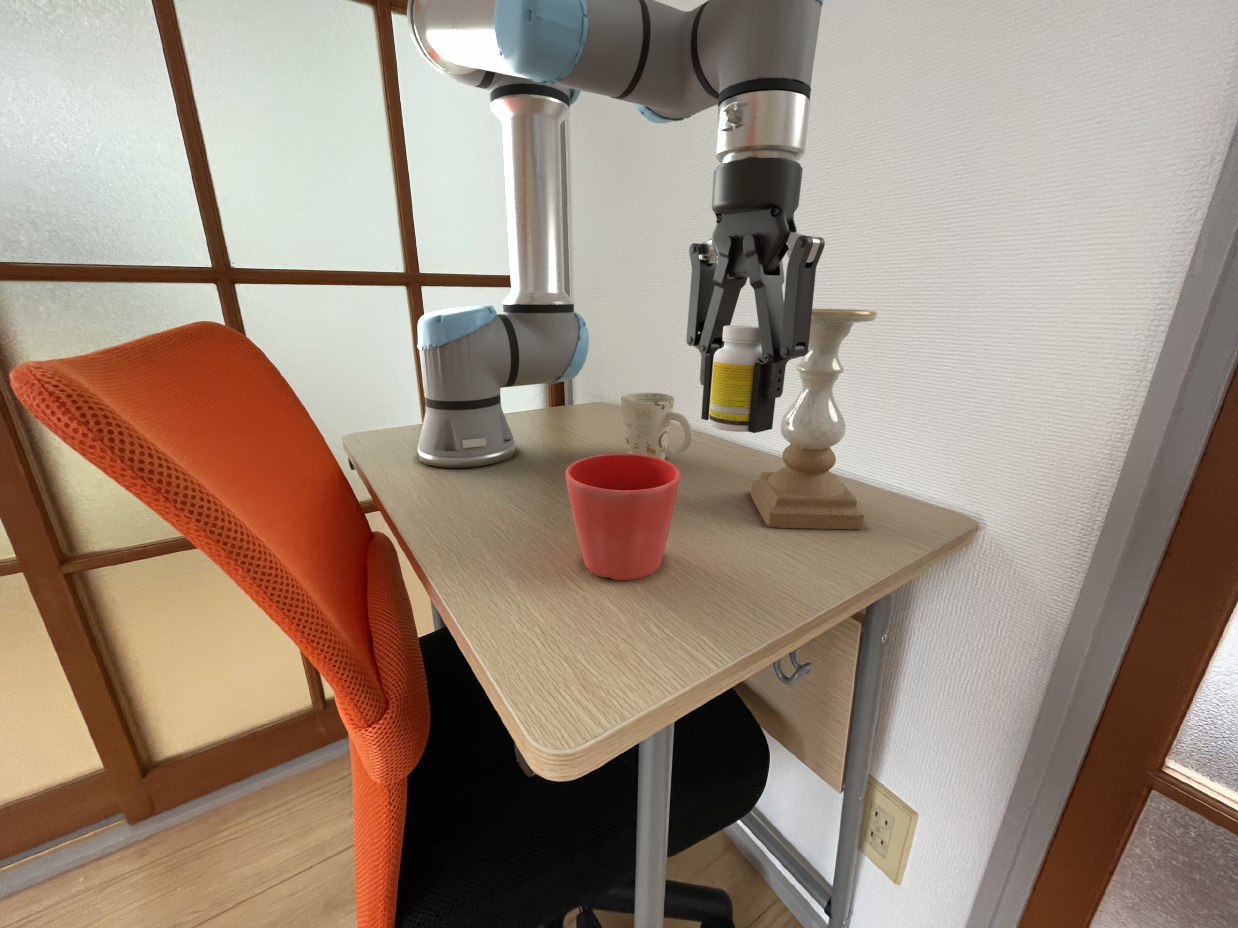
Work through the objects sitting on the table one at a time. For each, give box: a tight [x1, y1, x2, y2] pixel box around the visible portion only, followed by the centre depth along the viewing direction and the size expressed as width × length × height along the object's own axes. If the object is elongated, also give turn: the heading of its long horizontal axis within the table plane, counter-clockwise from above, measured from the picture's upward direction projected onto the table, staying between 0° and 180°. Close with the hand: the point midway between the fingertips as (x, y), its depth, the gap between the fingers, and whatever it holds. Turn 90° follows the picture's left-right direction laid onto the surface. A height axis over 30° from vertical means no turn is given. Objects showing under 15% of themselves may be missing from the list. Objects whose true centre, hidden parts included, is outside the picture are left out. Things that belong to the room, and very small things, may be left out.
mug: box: [620, 392, 694, 460], centre depth 83 cm, size 8×13×10 cm, turn 54°
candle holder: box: [750, 308, 878, 530], centre depth 62 cm, size 11×11×24 cm
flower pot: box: [565, 453, 681, 581], centre depth 51 cm, size 11×11×10 cm
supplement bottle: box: [708, 324, 762, 433], centre depth 52 cm, size 5×5×10 cm
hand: (735, 423), depth 53 cm, fingers closed on supplement bottle, 5 cm apart
